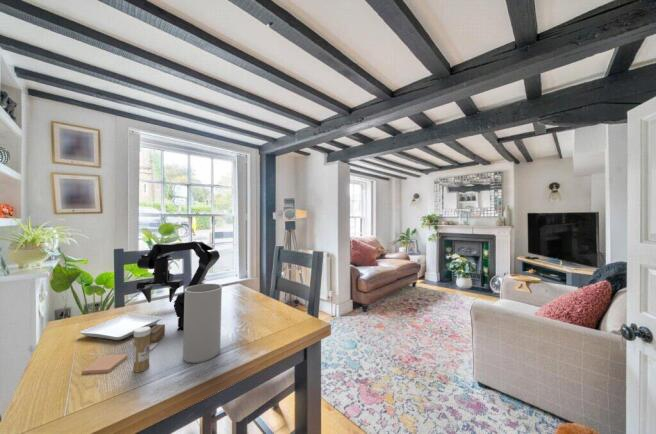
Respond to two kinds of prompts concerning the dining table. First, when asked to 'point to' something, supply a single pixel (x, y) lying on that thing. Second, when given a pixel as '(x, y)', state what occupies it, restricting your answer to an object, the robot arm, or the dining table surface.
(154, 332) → the tall cardboard box
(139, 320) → the salad plate
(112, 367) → the ceramic tile
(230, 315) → the dining table surface
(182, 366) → the dining table surface
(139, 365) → the sprinkles bottle
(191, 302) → the cylinder vase
